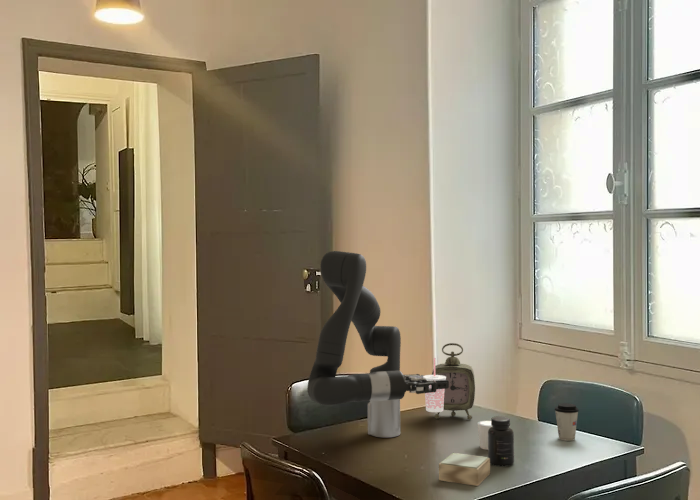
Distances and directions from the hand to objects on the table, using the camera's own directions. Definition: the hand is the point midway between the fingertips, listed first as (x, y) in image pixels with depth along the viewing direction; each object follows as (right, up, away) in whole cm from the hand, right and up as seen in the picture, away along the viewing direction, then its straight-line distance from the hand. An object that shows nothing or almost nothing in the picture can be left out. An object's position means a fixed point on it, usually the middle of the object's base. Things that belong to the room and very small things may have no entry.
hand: (442, 381), depth 195 cm
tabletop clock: (+10, -21, +48) cm, 53 cm away
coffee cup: (+40, -21, +21) cm, 49 cm away
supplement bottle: (+15, -22, -1) cm, 27 cm away
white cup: (+15, -21, +13) cm, 29 cm away
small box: (+4, -22, -12) cm, 25 cm away
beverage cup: (-2, -8, -1) cm, 8 cm away
